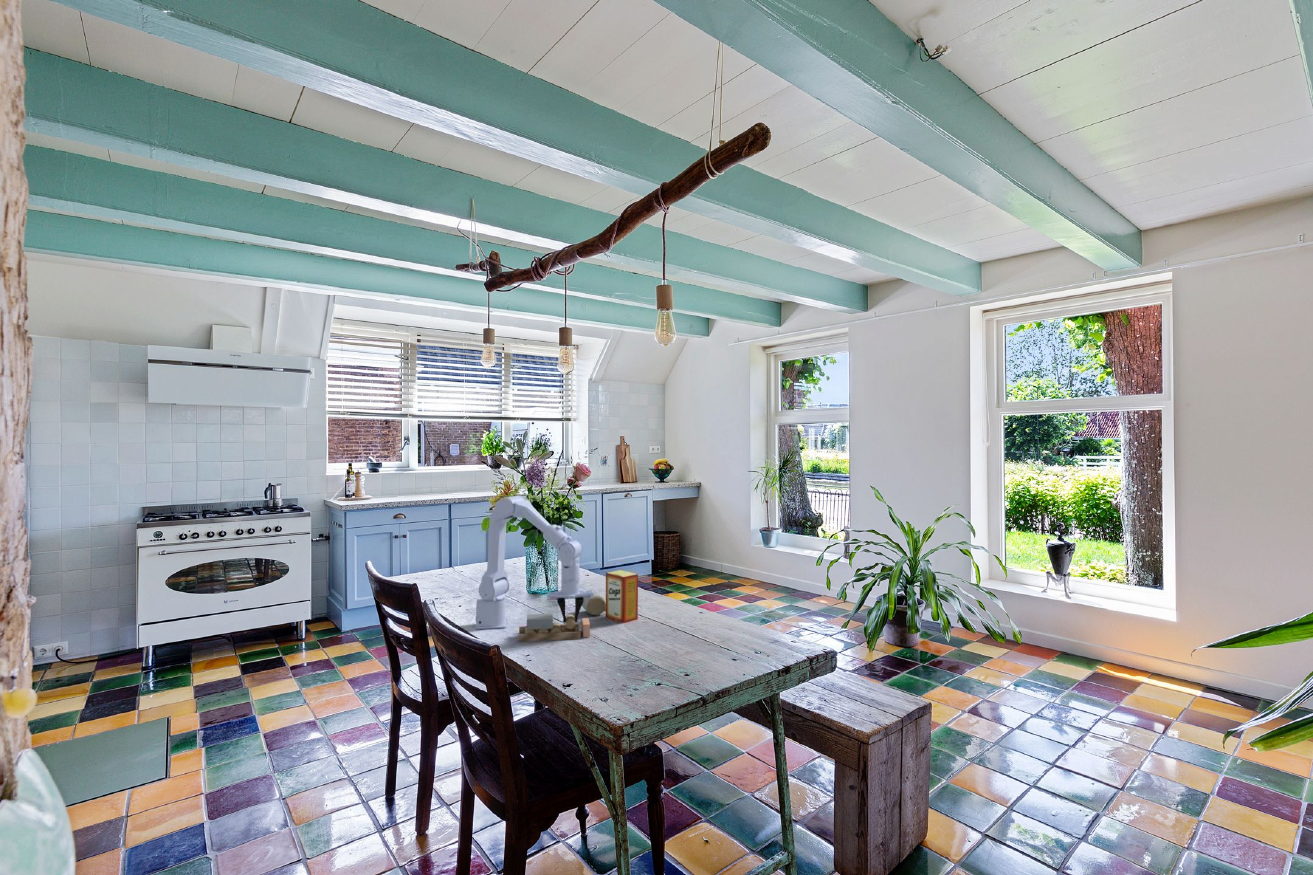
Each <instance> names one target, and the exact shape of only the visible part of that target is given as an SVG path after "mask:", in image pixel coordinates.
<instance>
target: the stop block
mask: <svg viewBox="0 0 1313 875" xmlns="http://www.w3.org/2000/svg"><path fill="white" fill-rule="evenodd" d="M581 633H582V637H583V638H590V637H591V624H590V620H589V617H583V618H581Z"/></svg>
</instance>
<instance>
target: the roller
mask: <svg viewBox="0 0 1313 875" xmlns="http://www.w3.org/2000/svg"><path fill="white" fill-rule="evenodd" d="M565 616H566V622H565V624H566V627H567V628H568V629H573V628H574V627H575V624H576V622H575V615H574V614H567V615H565Z"/></svg>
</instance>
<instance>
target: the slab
mask: <svg viewBox="0 0 1313 875" xmlns="http://www.w3.org/2000/svg"><path fill="white" fill-rule="evenodd" d="M553 623H554V616H553V613H550V612H549V613H532V614H526V626H527V630H530V629H550V628H553Z"/></svg>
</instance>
